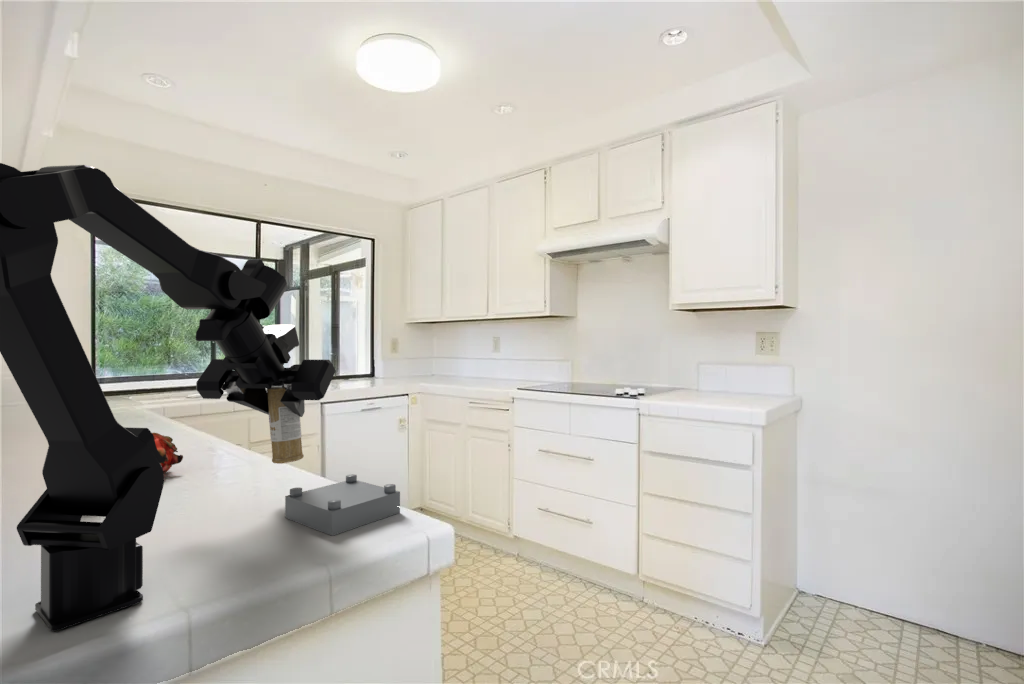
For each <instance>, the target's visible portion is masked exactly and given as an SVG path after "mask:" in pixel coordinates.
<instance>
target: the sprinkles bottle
mask: <svg viewBox="0 0 1024 684" xmlns="http://www.w3.org/2000/svg"><path fill="white" fill-rule="evenodd" d="M285 388H287V387H284V386H283V387H271V388H270V389H266V390H267V395H268V406H269V415H268V420H269V421H268V422H269V435H270V442H271V455H272V456H271V457H272V458H271V462H272V463H273V464H276V465H277V464H279V465H280V464H281V465H282V464H283V465H284V464H287V463H293V462H296V461H300V460H302V459H303V458H304V454H303V445H302V444H303V443H302V437H303V436H302V427H301V426H302V425H301V417H300V416H298V415H297V414H295V413H293V412H292V411H291V410H290V409H289V408H288V407H286V406H285V405H284V404H283V403H282V402H280V400H281V398H282V397H283V395H284V393H285V391H286V390H285Z"/></svg>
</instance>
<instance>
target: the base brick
mask: <svg viewBox="0 0 1024 684" xmlns="http://www.w3.org/2000/svg"><path fill="white" fill-rule="evenodd" d="M357 477H358V476H357V474H351V473H350V474H347V475H345V480H344V481H340V482H335V483H331V484H328V485H325V486H321V487H316V488H311V489H308V490H305V491H303V487H292V488H290V489H289V494H288V495H285V497H284V501H285V502H284V512H285V513H284V514H285V516H284V518H285V519H288V520H290V521H292V522H295V523H298V524H301V525H303V526H306V527H309V528H310V529H314V530H316V531H318V532H321V533H323V534H326V535H330V536H335V535H338V534H339V535H340V534H342V533H344V532H347V531H350V530H353V529H355V528H358V527H361V526H365V525H367V524H371V523H374V522H376V521H379V520H382V519H386V518H389V517H392V516H394V515H397V514H400V513H401V491H399V490H397V489H396V484H394V483H388V484H385V485H383V486H379V485H377V484H374V483H373V484H372V483H369V482H364V481H361V480H358V478H357ZM397 506H400V508H399V507H397Z"/></svg>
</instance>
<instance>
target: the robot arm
mask: <svg viewBox="0 0 1024 684" xmlns="http://www.w3.org/2000/svg"><path fill="white" fill-rule="evenodd" d="M63 221H70V222H72V223H74V224H75V225H76V226H78V227H79V228H81V229H83V230H85V231H86V232H88V233H89V234H91V235H92V236H93V237H96V238H97V239H99V241H101V242H103V243H104V244H106V245H108V246H109V247H111V248H112V249H114V250H116V251H117V252H119V254H121V255H123V256H125V257H127V258H128V259H130V260H131V261H132V262H134V263H136V264H137V265H139V266H140V267H142V268H143V269H145V270H147V271H148V272H150V273H152V275H153V276H155V278H157V279H158V282H159V286H160V290H161V291H162V292H163V293H164V294H165V295H166V296H167V297H168V298H170V299H171V300H172V301H173V303H175V304H176V305H177V306H178V307H180V308H182V309H185V310H211V311H210V312H209V313H208V314H207V316H206V317H205V318H200V319H199V323H198V324H199V326H198V327H197V330H196V331H195V340H196V342H215V343H216V345H217V346H218V348H219V350H220V351H221V352H222V353H223V355H224V358H212V359H211V361H210V362H209V364H208V365H207V366H206V368H205V369H204V371H203V372H202V373H201V375H200V376H199V378H198V379H197V381H196V384H195V389H196V391H197V393H199V395H200V397H202V399H203V400H204V399H205V400H206V399H207V400H208V399H209V400H210V399H211V400H220V399H221V398H222V396H223V395H224V394H225V392H226V393H227V395H226V400H227V402H230V403H236V404H238V405H242V406H244V407H247V408H251V409H252V410H255V411H258V412H260V413H263V414H265V415H268V416H269V406H268V395H267V389H270V388H271V387H283V386H284V387H287V388H285V390H286V391H285V393H284V395H283V397H282V398H281V400H280V402H282V403H283V404H284V405H285V406H286V407H288V408H289V409H290V410H291V411H292V412H293V413H295V414H297V415H298V416H300V418H303V416H304V415H305V401H320V400H322V399H323V398H325V396H326V393H327V391H328V389H329V386H330V385H331V383H332V380H333V378H334V376H335V374H336V368H335V367H334V364H333V362H332V361H331V360H330V359H309V358H308V359H303V360H302V361H301V362H300V364H298V363H296V364H293V365H291V366H290V367H285V366H284V365H285V364H288V363H289V362H290V360H291V356H290V353H291V351H292V350H294V349H295V348H297V347H299V346H300V340H299V337H298V333H297V328H296V325H295V324H270V325H262V323H260V322H259V320H260V321H261V320H264V319H267V318H269V317H270V316H271V314H272V312H273V311H274V309H275V308H276V306H277V305H278V304H279V302H280V301H281V298H282V297H283V295H284V293H285V292H286V291H287V287H288V283H287V281H286V279H285V278H286V277H285V276H283V275H282V274H281V273H280V272H278V271H277V270H276V269H275V268H272V267H271V266H268V265H265V262H264V261H263V260H262V259H261V258H253V259H250V258H248V259H247V260H246V261H245V263H244V265H243V266H242V269H241V268H240V267H239V266H238V265H237V264H236V263H234V262H232V261H231V260H228V259H227V258H225V257H223V256H221V255H220V254H216V253H212V252H209V251H205V250H203V249H199V248H197V247H194V246H192V245H191V244H189V243H188V242H187V241H186V240H184V239H183V238H182V237H180V236H179V235H178V234H176V233H175V232H174V231H173V230H171V229H170V228H169V227H168V226H167V225H165V224H164V223H163V222H161V221H160V220H159V219H157V217H156V216H155V217H154V215H153V214H151V213H150V212H148V211H147V210H146V209H144V208H143V207H142V206H141V205H139V204H138V203H137V202H135V200H133V199H132V198H131V197H129V196H128V195H127V194H126V193H125V192H123V191H121V190H120V189H119V188H118V187H117V186H115V185H114V183H113V181H112V179H111V178H110V176H108V174H107V173H106V172H104V171H103V170H101V169H99V168H96V167H93V166H91V165H86V164H75V165H74V164H71V165H51V166H50V165H49V166H44V167H41V168H39V169H36V170H25V171H24V170H23V171H21V170H19V169H18V168H16V167H14V166H11V165H8V164H5V163H2V162H0V354H1V356H2V359H3V360H4V362H5V364H6V365H7V368H8V370H9V371H10V373H11V375H12V377H13V379H14V381H15V383H16V385H17V386H18V388H19V390H20V393H21V394H22V396H23V397H24V399H25V402H26V403H27V405H28V407H29V409H30V411H31V413H32V414H33V416H34V418H35V420H36V422H37V425H38V426H39V427H40V430H41V431H42V433H43V435H44V437H45V440H46V441H47V444H48V447H47V451H46V455H45V458H44V463H43V467H42V472H41V473H42V477H43V481H44V485H45V487H46V488H45V490H44V491H43V493H42V494H41V495H40V497H39V498H38V499H37V500H36V501H35V502H34V504H33V505H32V507H30V508H29V510H28V512H26V513H25V515H24V516H23V518H21V520H20V521H19V522H18V524H17V526H16V531H17V533H18V536H19V537H20V538H19V539H20V540H21V543H22V545H23V546H25V547H26V546H28V547H31V546H40V601H38V602H37V603H35V606H34V607H35V608H34V609H35V611H36V612H37V614H38V615H39V617H40V618H41V620H43V622H44V623H45V624H46V626H47V627H48V628H49V630H50V631H53V632H56V631H60V630H63V629H66V628H69V627H71V626H72V627H73V626H76V625H78V624H80V623H83V622H87V621H90V620H93V619H95V618H98V617H101V616H103V615H107V614H111V613H113V612H116V611H119V610H122V609H125V608H127V607H130V606H131V607H132V606H133V605H136V604H139V603H141V602H143V601H144V595H143V593H141V592H140V591H139V590H141V589H142V587H143V586H144V585H143V581H144V579H143V574H144V573H143V566H144V565H143V562H144V558H143V556H144V555H143V551H144V550H143V549H144V548H143V545H142V544H140V543H139V542H137V538H140V537H142V536H144V535H146V534H149V533H151V531H152V530H153V527H154V523H155V520H156V516H157V515H156V514H157V513H158V512H157V511H158V507H159V506H160V505H159V504H160V500H161V497H162V493H163V490H164V483H165V473H163V469H162V466H161V464H160V463H163V462H165V458H163V457H162V456H161V455H160V453H159V452H158V450H157V447H156V444H155V440H154V436H153V434H152V433H153V432H151V430H150V429H149V428H148V427H125V426H123V425H121V424H120V423H119V422H118V420H116V418H115V415H114V413H113V412H112V408H111V407H110V404H109V403H108V401H107V398H106V396H105V394H104V391H103V388H102V387H101V384H100V382H99V380H98V378H97V376H96V374H95V372H94V369H93V368H92V365H91V363H90V360H89V358H88V356H87V354H86V352H85V349H84V347H83V345H82V343H81V340H80V339H79V337H78V334H77V332H76V329H75V327H74V326H73V323H72V321H71V319H70V317H69V314H68V312H67V309H66V307H65V305H64V303H63V301H62V299H61V296H60V295H59V292H58V290H57V287H56V286H55V284H54V281H53V277H52V269H53V266H54V262H55V257H56V252H57V248H58V245H59V238H58V237H59V236H58V235H57V234H58V233H57V230H56V227H55V226H56V225H55V223H59V222H63ZM83 516H84V517H105V518H104V519H103V520H102V522H101V521H82V517H83Z"/></svg>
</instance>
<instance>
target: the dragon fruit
mask: <svg viewBox="0 0 1024 684" xmlns="http://www.w3.org/2000/svg"><path fill="white" fill-rule="evenodd" d="M151 433H152V434H153V436H154V440H155V444H156V447H157V450H158V452H159V453H160V455H161V456H162V457H163V458H165V462H163V463H160V464H161V466H162V469H163V473H164V474H167V472H168V471H169V470H170V469H172V466H174V465H177V464H180V463H182V461H183V459H184V455H183V454H179V455H178V454H176V453H178V447H177V446H176V445H175V443H174V442H173V438H172V437H171V436H170V435H164V434H163V435H162V434H160V433H158V432H151Z"/></svg>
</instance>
